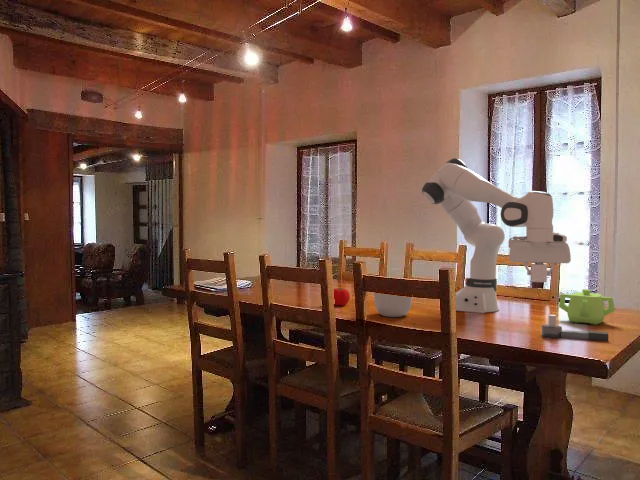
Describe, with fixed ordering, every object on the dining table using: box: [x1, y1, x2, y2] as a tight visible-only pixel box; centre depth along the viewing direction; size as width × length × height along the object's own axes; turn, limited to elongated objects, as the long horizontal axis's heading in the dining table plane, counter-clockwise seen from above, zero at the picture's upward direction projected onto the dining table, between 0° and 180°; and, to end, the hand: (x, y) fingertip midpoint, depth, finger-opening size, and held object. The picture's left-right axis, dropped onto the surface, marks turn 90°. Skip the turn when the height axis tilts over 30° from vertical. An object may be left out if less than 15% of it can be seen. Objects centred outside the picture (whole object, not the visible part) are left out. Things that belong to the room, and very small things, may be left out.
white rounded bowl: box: [373, 292, 413, 318], centre depth 225 cm, size 17×17×15 cm
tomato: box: [333, 287, 351, 307], centre depth 250 cm, size 9×10×8 cm
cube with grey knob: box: [530, 262, 548, 283], centre depth 188 cm, size 5×5×7 cm
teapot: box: [558, 288, 616, 326], centre depth 209 cm, size 18×20×13 cm
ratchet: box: [541, 314, 609, 342], centre depth 184 cm, size 21×6×8 cm, turn 70°
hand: (539, 275), depth 188 cm, fingers closed on cube with grey knob, 5 cm apart
